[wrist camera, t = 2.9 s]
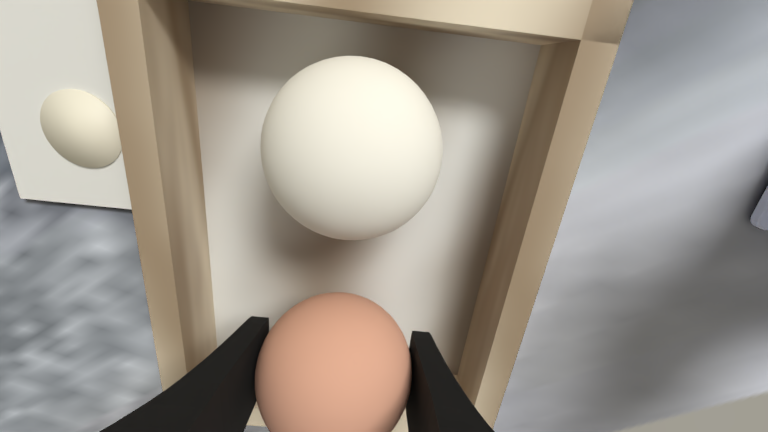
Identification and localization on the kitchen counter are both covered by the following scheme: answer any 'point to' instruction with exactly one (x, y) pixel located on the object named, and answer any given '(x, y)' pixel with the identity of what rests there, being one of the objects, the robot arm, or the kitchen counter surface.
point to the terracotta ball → (333, 368)
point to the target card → (59, 104)
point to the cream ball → (351, 148)
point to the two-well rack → (376, 255)
